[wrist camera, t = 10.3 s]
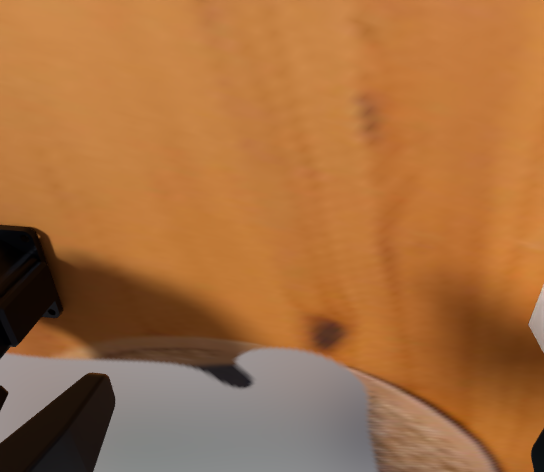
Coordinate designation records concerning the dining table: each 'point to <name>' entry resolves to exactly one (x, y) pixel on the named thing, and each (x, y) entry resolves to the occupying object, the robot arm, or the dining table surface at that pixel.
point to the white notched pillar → (538, 320)
